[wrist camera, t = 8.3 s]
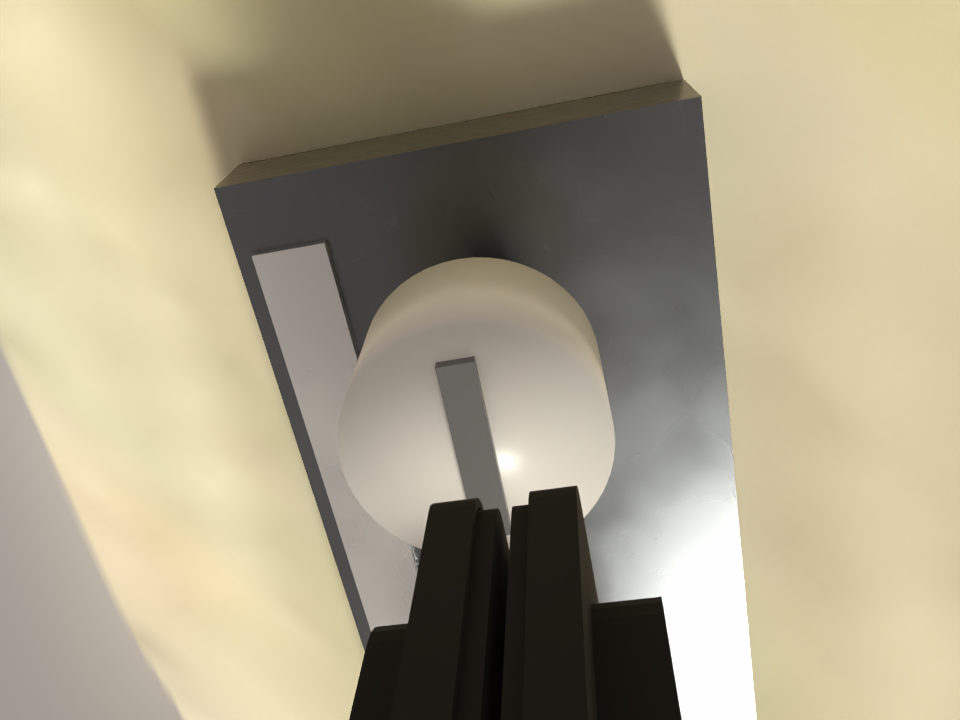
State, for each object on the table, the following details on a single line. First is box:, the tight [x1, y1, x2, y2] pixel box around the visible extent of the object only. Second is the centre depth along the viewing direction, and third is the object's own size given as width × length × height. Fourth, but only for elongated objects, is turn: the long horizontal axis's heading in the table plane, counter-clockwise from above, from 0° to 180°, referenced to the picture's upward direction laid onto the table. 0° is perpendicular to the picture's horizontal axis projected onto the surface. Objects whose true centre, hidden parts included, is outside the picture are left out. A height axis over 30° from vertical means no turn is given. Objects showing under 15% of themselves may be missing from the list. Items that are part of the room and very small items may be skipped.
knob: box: [337, 257, 615, 549], centre depth 17 cm, size 4×4×5 cm
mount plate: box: [214, 79, 756, 720], centre depth 24 cm, size 21×10×2 cm, turn 11°
